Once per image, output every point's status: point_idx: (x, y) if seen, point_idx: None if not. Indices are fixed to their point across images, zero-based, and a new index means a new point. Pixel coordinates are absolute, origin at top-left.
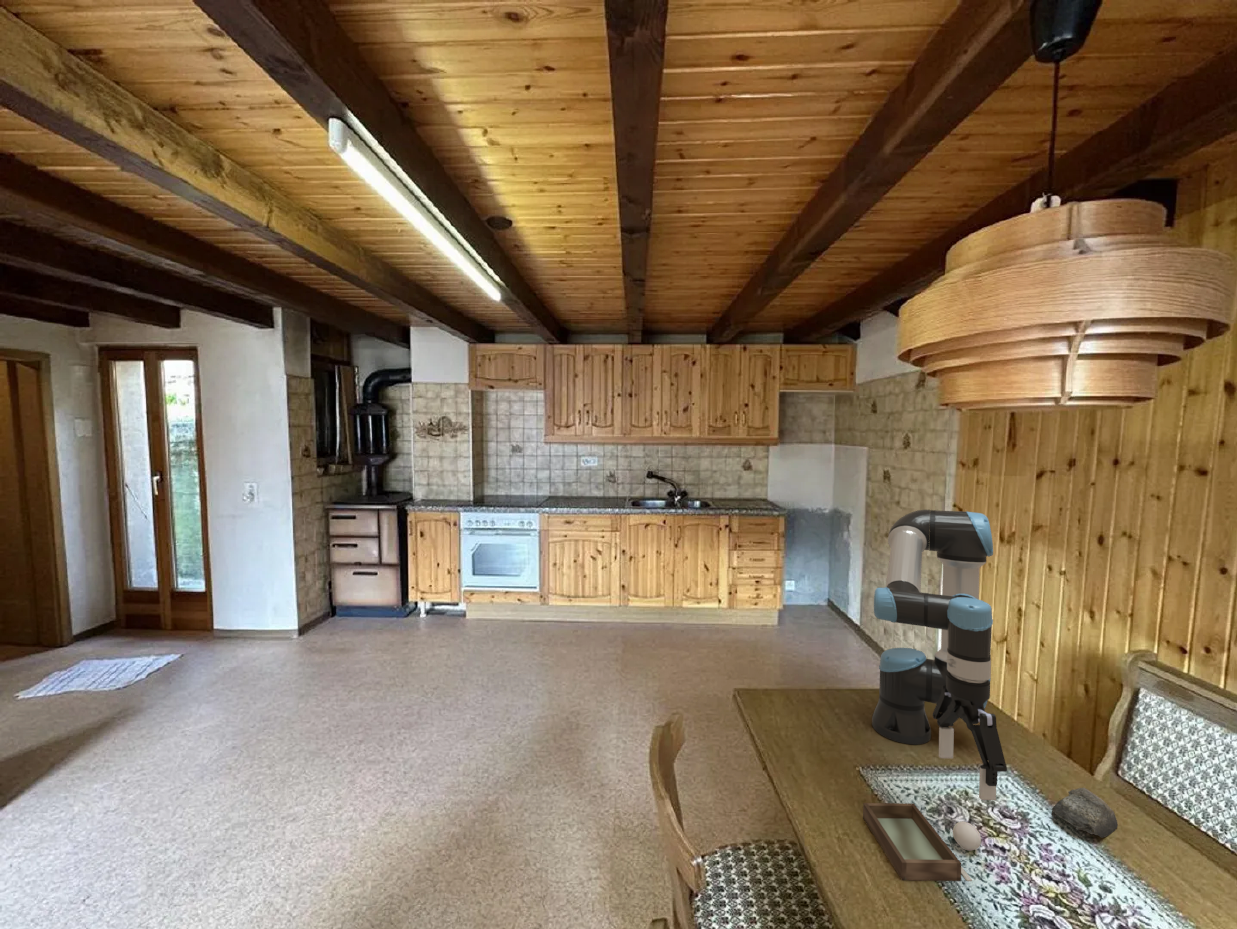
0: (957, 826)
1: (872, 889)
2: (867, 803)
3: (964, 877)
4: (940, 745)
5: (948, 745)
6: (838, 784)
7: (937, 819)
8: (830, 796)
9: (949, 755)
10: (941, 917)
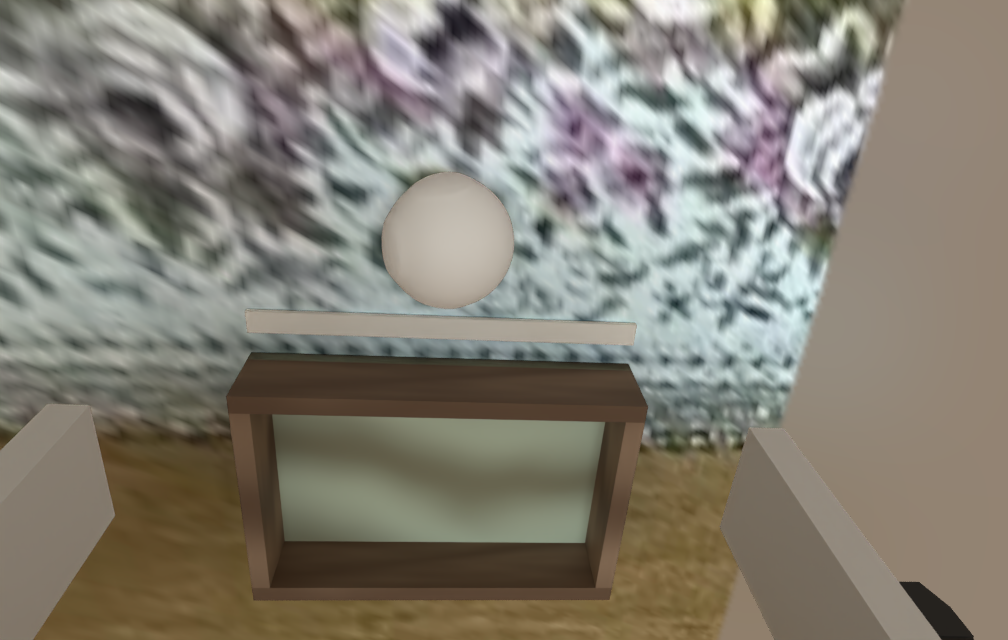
0: (435, 303)
1: (616, 629)
2: (255, 587)
3: (618, 343)
4: (28, 634)
5: (10, 568)
6: None
7: (240, 237)
8: (138, 604)
9: (79, 462)
10: None
